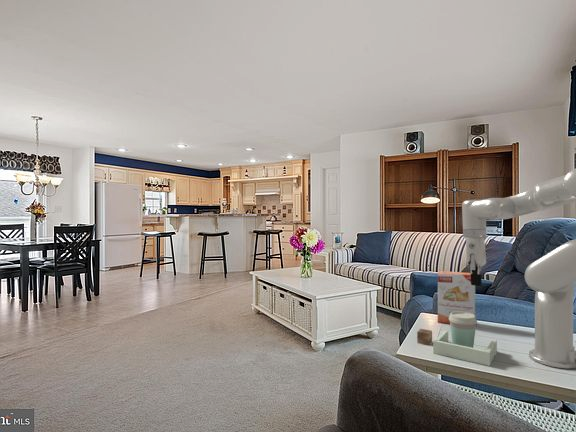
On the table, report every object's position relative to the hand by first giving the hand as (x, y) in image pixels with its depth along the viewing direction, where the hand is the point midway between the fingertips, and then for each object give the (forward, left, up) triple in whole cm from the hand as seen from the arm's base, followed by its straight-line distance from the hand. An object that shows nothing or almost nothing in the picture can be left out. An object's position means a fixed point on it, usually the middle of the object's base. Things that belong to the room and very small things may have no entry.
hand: (476, 285), depth 128 cm
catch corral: (+1, +15, -20) cm, 25 cm away
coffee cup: (+2, +14, -20) cm, 24 cm away
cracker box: (+11, -17, -20) cm, 28 cm away
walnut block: (+14, +13, -20) cm, 28 cm away
